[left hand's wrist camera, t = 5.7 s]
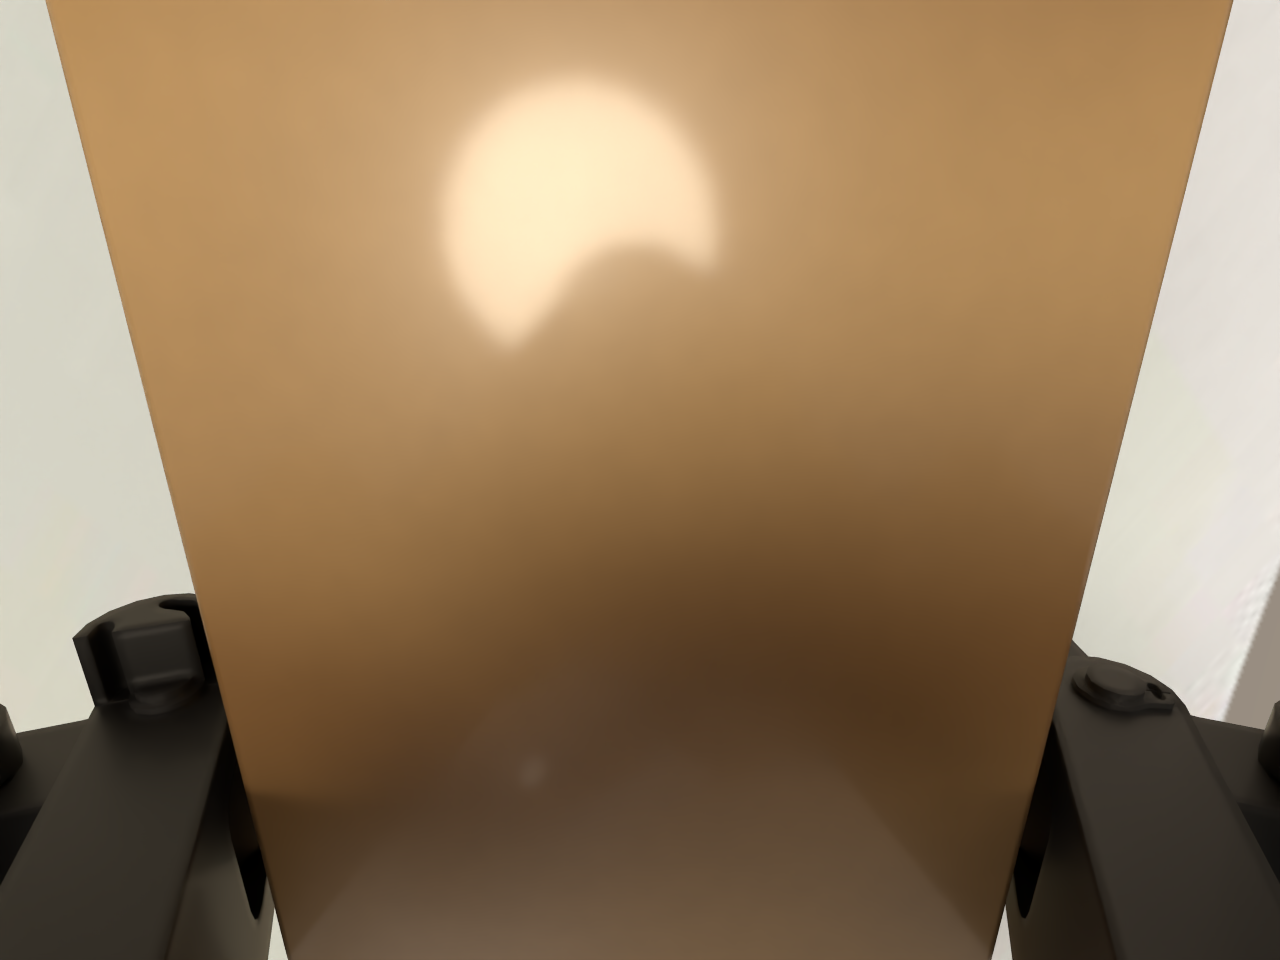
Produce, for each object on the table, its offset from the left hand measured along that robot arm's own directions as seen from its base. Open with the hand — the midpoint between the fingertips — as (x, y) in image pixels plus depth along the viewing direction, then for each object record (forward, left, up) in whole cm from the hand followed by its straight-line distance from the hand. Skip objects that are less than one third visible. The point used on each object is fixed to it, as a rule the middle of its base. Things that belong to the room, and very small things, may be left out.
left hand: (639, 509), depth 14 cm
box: (+7, 0, 0) cm, 7 cm away
